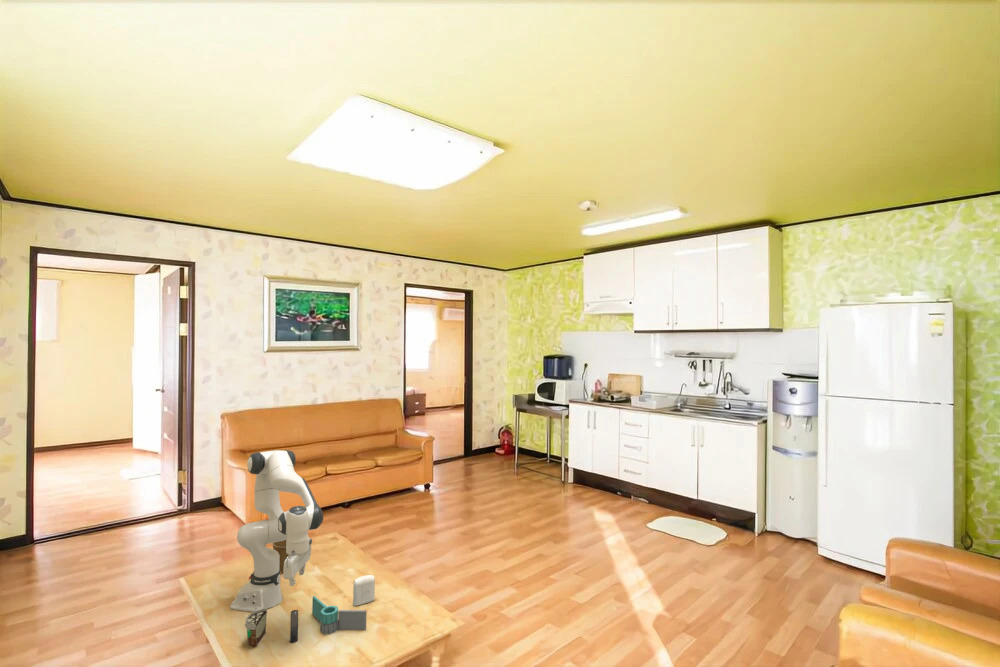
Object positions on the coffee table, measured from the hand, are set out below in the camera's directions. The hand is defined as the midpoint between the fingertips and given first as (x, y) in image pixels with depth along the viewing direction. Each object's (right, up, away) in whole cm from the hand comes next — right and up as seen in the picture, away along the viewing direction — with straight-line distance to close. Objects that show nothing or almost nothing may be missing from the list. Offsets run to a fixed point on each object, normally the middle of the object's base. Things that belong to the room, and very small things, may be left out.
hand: (297, 579), depth 203 cm
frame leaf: (+18, -25, +7) cm, 31 cm away
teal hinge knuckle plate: (+7, -25, +11) cm, 28 cm away
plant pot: (-31, -26, +60) cm, 73 cm away
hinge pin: (-1, -25, -2) cm, 25 cm away
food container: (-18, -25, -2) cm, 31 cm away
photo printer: (+20, -26, +29) cm, 43 cm away
